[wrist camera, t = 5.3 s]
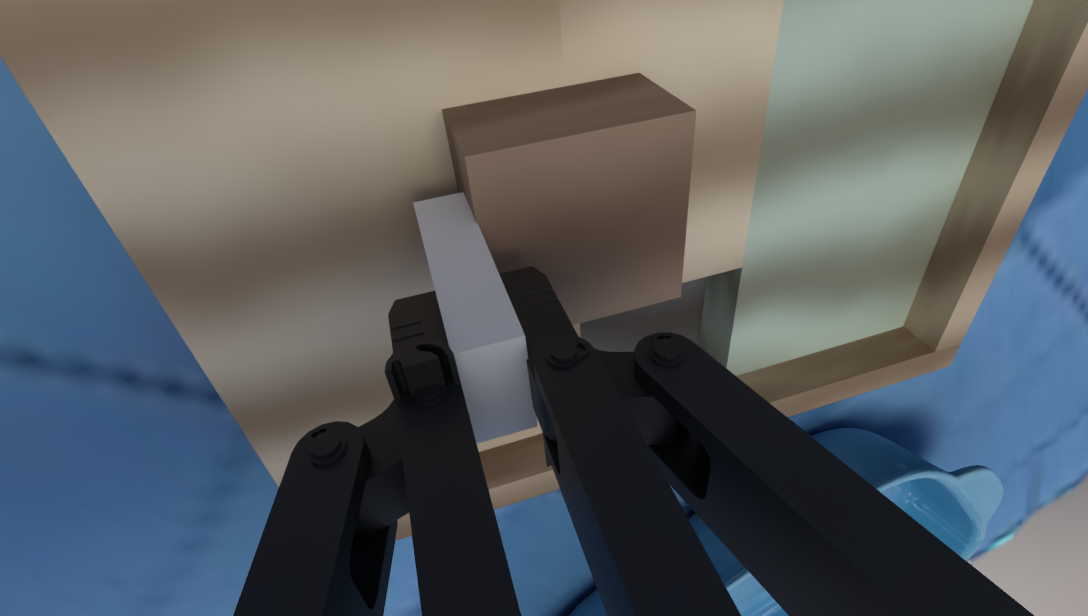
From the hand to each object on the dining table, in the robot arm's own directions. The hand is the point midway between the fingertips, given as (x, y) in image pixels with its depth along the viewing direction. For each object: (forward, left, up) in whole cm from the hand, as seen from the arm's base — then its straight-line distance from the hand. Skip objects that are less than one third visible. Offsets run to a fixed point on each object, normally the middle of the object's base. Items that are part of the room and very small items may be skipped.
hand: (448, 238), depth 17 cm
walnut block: (0, +4, -2) cm, 4 cm away
